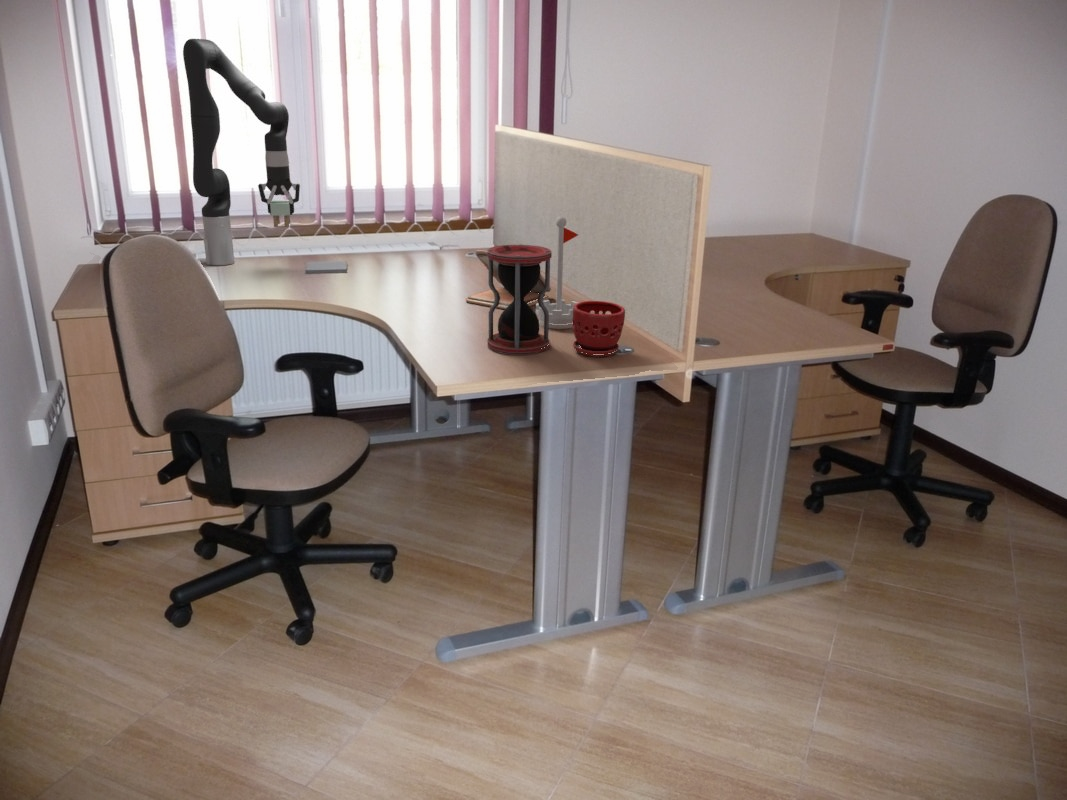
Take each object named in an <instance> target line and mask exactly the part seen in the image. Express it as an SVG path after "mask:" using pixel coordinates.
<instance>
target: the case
mask: <svg viewBox="0 0 1067 800" xmlns="http://www.w3.org/2000/svg"><path fill="white" fill-rule="evenodd" d="M474 255H475V256H476V257H477V258H478V260H479V261H480V262H481V263H482V264H483V265H484V267H485V268H486V269H487V270H488V271H489V258H488V257H487V250H484V249H483V250H481V249H478V250H475V252H474ZM498 264H499V263H498V262H497V261H494V260H493V278H494V279H495V280H496V281H497V282H498V283H499V284H501V282H500V280H499V276H498ZM544 286H545V277H544V276H543V275H542V273H540V278H539V280H538V282H537V284H536V285H535V287H534V288H533V289H532V290H531V292H529V293H528V294H527V295H526V296H525V297H524V301H525V302H526V303H528V302H530V301H533V300H536V299H538V296H539V294H538V293H540V292H541V291H542V290H543V288H544ZM495 289H496V290H497V291H498V292H499V296H500V301H499V305H498V306H497V307H496V308H495V309H500V310H503V311H504V310H505V309H506V308H507V307H506V306H509V305H510V304H511V303H512V302H513V301H514V297H513V296H512V295H511V294H510V293H509V292H508V291H507V290H506V289H505V288H504V287H502V286H501V287H495ZM551 290H552V288H551V286H549V288H548V290H547V291H546V293H549V292H551ZM546 293H545V294H544V296H545V295H546ZM546 296H547V297H545V298H543V301H544V300H550V297H549V296H548V294H547V295H546ZM494 300H495V297H494V293H493V291H492V290H491V289H488V290H485V291H482V292H481V291H480V292H479V293H475V294H472V295H469V296H467V297H466V298H465V302H466V303H469V304H474V305H478V306H479V305H480V306H484V307H490V308H491V307H492V305H493V304H494ZM537 303H538V300H537V301H535V302H532V303H529V304H528V305H529V306H530V307H533V306H536V304H537ZM500 305H501V306H500Z"/></svg>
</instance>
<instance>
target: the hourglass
mask: <svg viewBox="0 0 1067 800" xmlns="http://www.w3.org/2000/svg"><path fill="white" fill-rule="evenodd" d="M486 251H487V257H488V258H489V270H488V286H489V290H492V291H493V293H494V297H495V300H494V304H493V305H492V307H490V308H489V311H488V338H487V339H486V341H487V347H488V348H489V349H490V350H491V351H493V352H495V353H499V354H505V355H511V356H512V355H514V356H523V355H533V354H538V353H542V352H543V353H544V351H546V350H548V349H549V348H550V343H551V342H550V339H549V330H550V328H549V313H548V310H547V308H546V307H545V306H544V302H543V297H544V294H545V295H546V293H547V292H546V291H547V290H548V288H549V286H550V282H551V281H550V280H551V279H550V277H551V258H552V253H553V252H552V250H551V249H549V248H547V247H544V246H540V245H530V244H521V243H520V244H519V243H518V244H506V245H505V244H503V245H497V246H496V245H495V246H493V247H490V248H488V249H487V250H486ZM493 260H494V261H497V262H498V263H499V264H498V276H499V280H500V282H501V283H500V284H501V285H502V286H503V288H505V289H506V290H507V291H508V292H509V293H510V294H511V295H512V296H513V297H514V301H513V302H512V303H511V304H510V305H509V306H508V307H507V308H506V309H505V310H504V309H503V311H502V313H501V314H500V315H499V317H498V321H497V331H498V332H497V333H494V313H495V310H496V309H497V308H496V307H497V306H498V305H499V301H500V296H499V292H498V291H497V290H496V289H495V288H496V287H495V285H494V276H493ZM542 262H545V265H544V266H545V268H544V269H545V272H544V275H545V276H544V279H545V286H544V288H543V290H542V291H541V292H540V293H539V296H538V303H539V306H540V307H541V309H542V310H543V312H544V326H543V334H542V333H539V332H540V324H539V316H538V315H537V314H536V311H535V310H533V308H532V306H529V305H528V304H527V303H526V302H525V301H524V297H525V296H526V295H527V294H528V293H529V292H530V291H531V290H532V289H533V288H534V287H535V285H536V284H537V282H538V280H539V278H540V274H541V264H542ZM550 287H551V286H550ZM549 342H550V343H549ZM548 344H549V345H548ZM547 345H548V346H547ZM544 347H545V348H544ZM541 348H542V349H541Z"/></svg>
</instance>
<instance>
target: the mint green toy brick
mask: <svg viewBox="0 0 1067 800" xmlns="http://www.w3.org/2000/svg"><path fill="white" fill-rule="evenodd" d="M289 204H290V202H289V200H288V199H272V201H271V203H270V207H271V215H270V216H272V218H273V227H274V228H278V227H279V225H280V224H281V222H280V221H281V220H280V219H281V218H280V216H283V223H284V227H285V228H289V227H290V224H291V215H290V206H289Z"/></svg>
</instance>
